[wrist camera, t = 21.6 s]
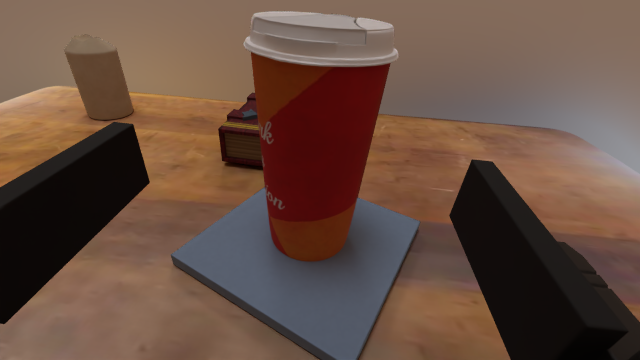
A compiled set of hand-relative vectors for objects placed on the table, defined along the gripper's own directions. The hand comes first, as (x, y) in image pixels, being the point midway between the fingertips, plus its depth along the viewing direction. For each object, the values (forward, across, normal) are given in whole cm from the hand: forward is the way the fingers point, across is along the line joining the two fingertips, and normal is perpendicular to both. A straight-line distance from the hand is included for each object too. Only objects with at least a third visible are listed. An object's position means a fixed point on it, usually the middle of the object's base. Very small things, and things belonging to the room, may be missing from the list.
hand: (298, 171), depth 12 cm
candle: (+28, -31, -11) cm, 43 cm away
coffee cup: (+7, 0, -10) cm, 13 cm away
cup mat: (+7, 0, -11) cm, 13 cm away
